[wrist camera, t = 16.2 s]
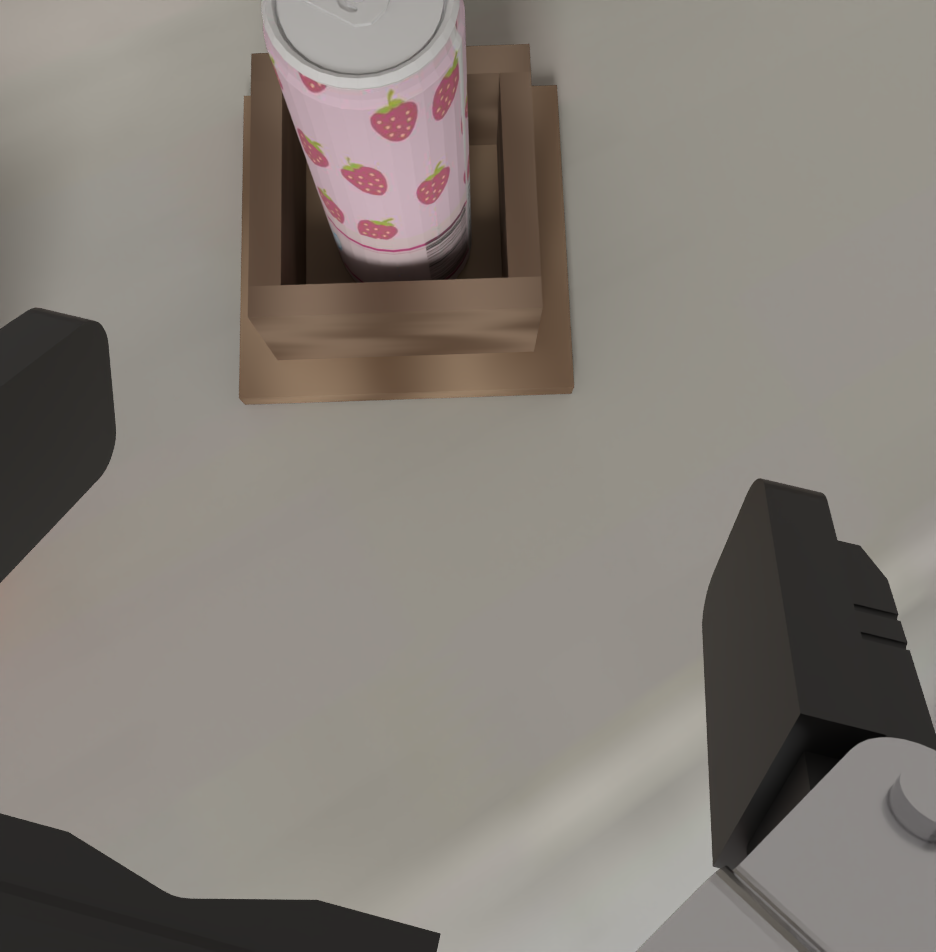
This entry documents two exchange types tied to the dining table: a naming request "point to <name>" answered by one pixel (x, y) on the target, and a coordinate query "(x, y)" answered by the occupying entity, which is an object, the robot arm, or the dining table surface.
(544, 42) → the dining table surface
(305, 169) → the can socket
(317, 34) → the beverage can
